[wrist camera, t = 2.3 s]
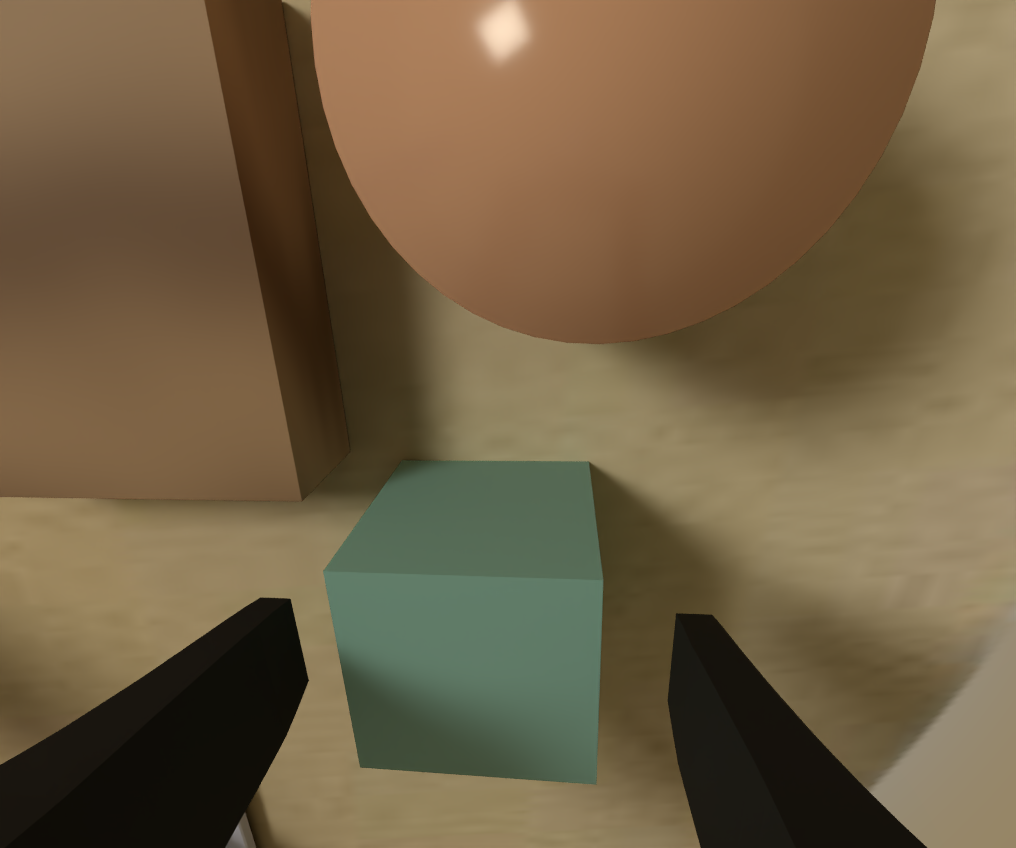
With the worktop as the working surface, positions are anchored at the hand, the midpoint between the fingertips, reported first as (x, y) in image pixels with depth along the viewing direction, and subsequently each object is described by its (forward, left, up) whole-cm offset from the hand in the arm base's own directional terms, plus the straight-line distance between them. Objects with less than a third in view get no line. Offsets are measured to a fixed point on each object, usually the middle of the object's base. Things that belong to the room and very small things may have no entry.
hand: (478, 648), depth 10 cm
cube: (0, 0, -4) cm, 4 cm away
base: (+7, +8, -4) cm, 11 cm away
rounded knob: (+9, -2, -4) cm, 10 cm away
